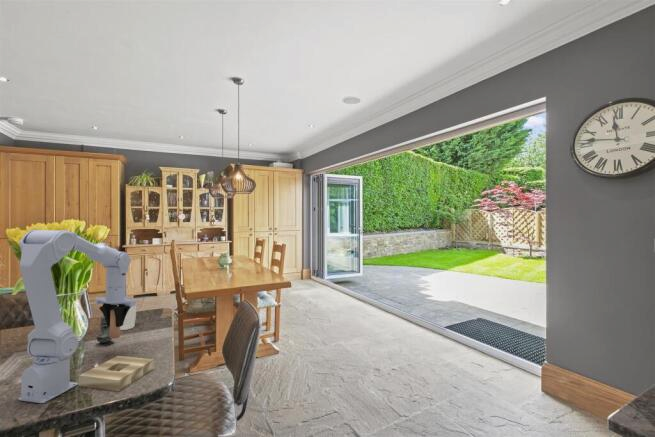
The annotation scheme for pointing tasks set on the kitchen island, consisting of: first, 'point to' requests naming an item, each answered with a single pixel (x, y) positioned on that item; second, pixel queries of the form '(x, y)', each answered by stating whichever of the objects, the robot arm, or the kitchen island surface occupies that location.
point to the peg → (113, 326)
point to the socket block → (116, 373)
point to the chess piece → (104, 334)
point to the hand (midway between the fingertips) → (115, 325)
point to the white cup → (129, 319)
